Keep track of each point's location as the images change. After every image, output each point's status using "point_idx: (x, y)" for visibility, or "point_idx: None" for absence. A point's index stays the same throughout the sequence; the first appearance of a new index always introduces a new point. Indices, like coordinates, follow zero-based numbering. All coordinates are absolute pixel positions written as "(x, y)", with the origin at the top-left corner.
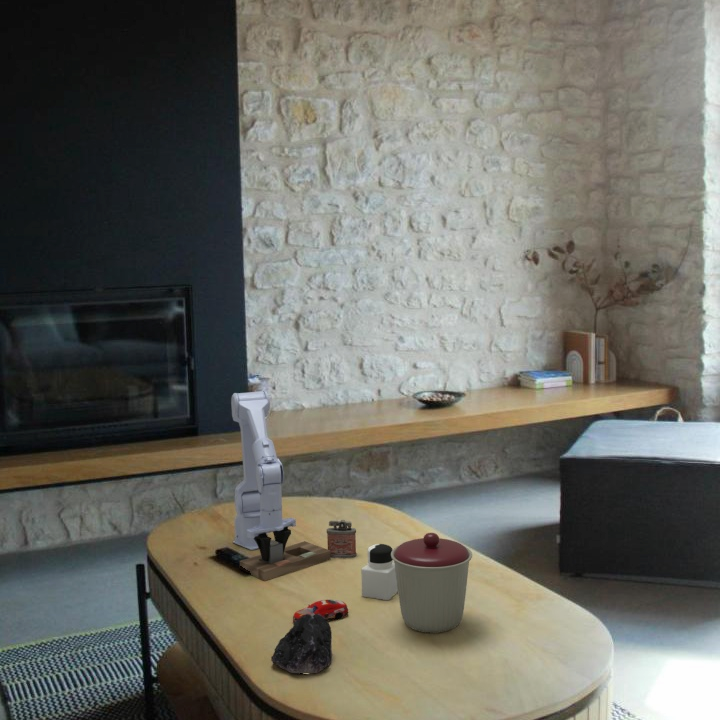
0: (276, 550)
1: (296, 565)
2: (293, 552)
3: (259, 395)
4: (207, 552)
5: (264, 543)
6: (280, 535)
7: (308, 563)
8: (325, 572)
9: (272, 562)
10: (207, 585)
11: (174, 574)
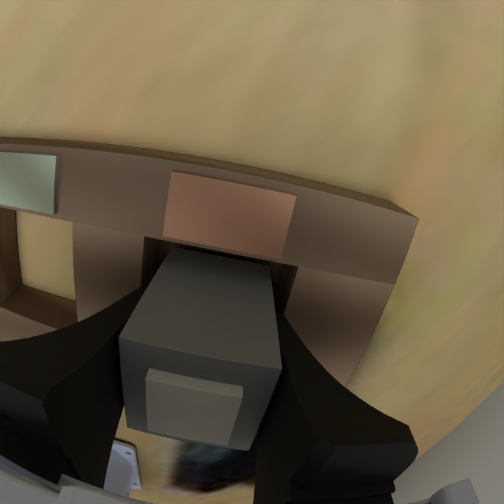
0: (208, 324)
1: (142, 153)
2: (36, 308)
3: None
4: (236, 496)
5: (380, 413)
6: (87, 419)
7: (62, 142)
8: (93, 10)
9: (259, 283)
10: (481, 356)
11: None
